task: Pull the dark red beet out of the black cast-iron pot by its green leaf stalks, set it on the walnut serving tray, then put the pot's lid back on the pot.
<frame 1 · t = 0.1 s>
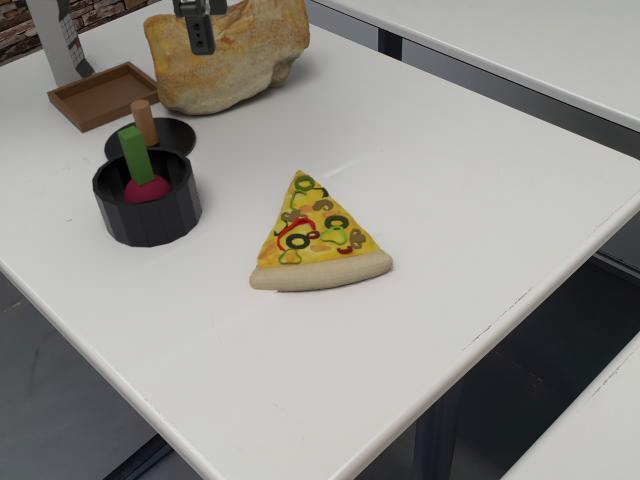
hand: (211, 32, 68), 22 cm above the table, tool pointing down, fingers open, 8 cm apart
tray: (109, 103, 102), on the table
pot: (155, 219, 83), on the table
beet: (154, 216, 83), resting on pot
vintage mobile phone: (78, 84, 107), on the table
bread loaf: (229, 86, 104), on the table, touching tray
lid: (150, 144, 93), point 1 cm above the table
pizza slice: (312, 230, 80), on the table
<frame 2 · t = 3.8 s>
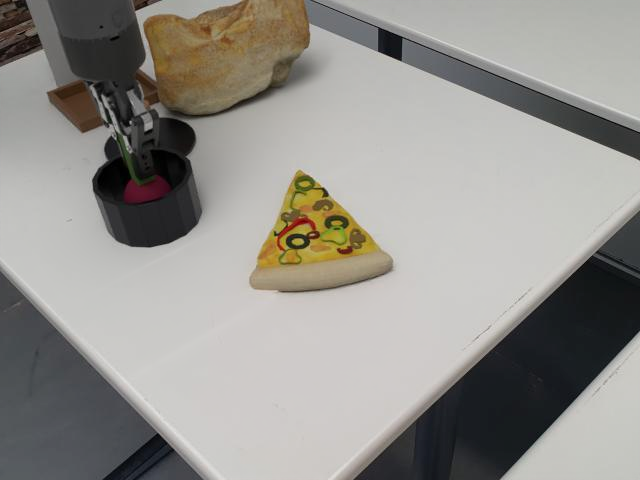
hand: (141, 170, 78), 7 cm above the table, tool pointing down, fingers closed on beet
beet: (154, 216, 83), resting on pot, touching gripper
everything else where it was.
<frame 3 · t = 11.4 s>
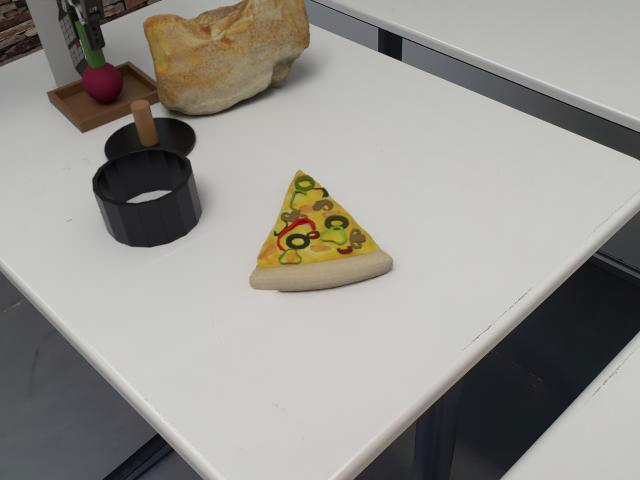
hand: (90, 42, 95), 9 cm above the table, tool pointing down, fingers open, 4 cm apart
beet: (108, 99, 102), point 1 cm above the table, touching tray
everything else where it was.
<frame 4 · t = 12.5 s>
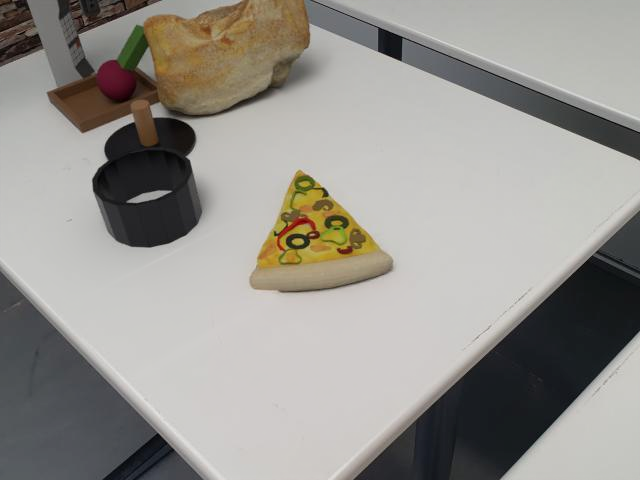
hand: (78, 4, 92), 14 cm above the table, tool pointing down, fingers open, 8 cm apart
beet: (108, 95, 101), point 1 cm above the table, tilted 41°, touching bread loaf, tray
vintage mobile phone: (78, 84, 107), on the table, touching gripper
bread loaf: (230, 86, 104), on the table, touching beet, tray
everything else where it was.
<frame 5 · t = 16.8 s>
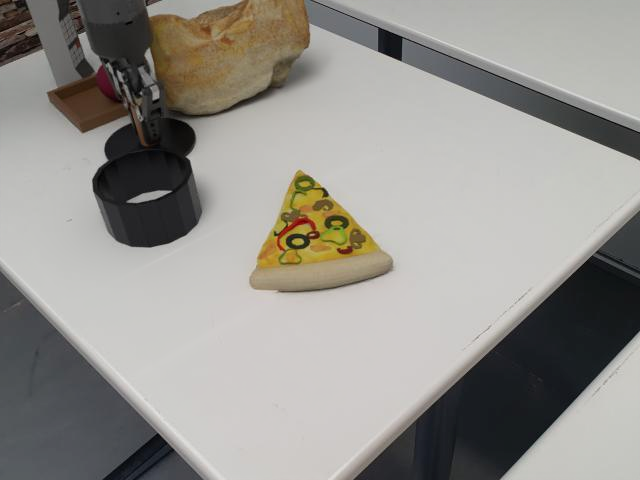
hand: (148, 137, 92), 2 cm above the table, tool pointing down, fingers closed on lid, 2 cm apart
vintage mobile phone: (78, 84, 107), on the table
lid: (150, 144, 93), point 1 cm above the table, touching gripper
everything else where it was.
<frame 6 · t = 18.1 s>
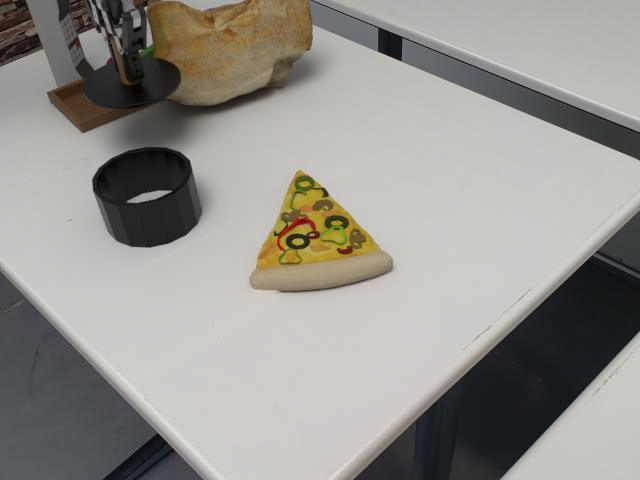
hand: (130, 74, 86), 11 cm above the table, tool pointing down, fingers closed on lid, 2 cm apart
beet: (108, 84, 101), point 3 cm above the table, tilted 75°, touching tray
bread loaf: (228, 83, 103), on the table, touching tray
lid: (132, 83, 87), point 9 cm above the table, touching gripper
everything else where it was.
when the fingers open (8 cm above the table, at t = 23.2 s): lid stays where it is, resting on pot.
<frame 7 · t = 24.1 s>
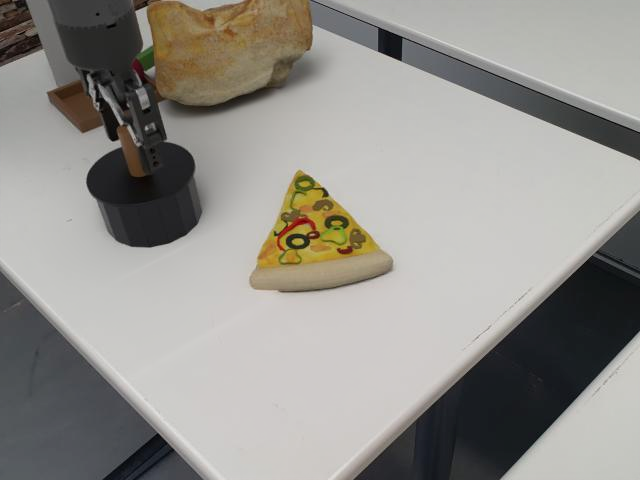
hand: (135, 154, 76), 9 cm above the table, tool pointing down, fingers open, 8 cm apart
lid: (141, 174, 78), point 6 cm above the table, touching pot
everything else where it was.
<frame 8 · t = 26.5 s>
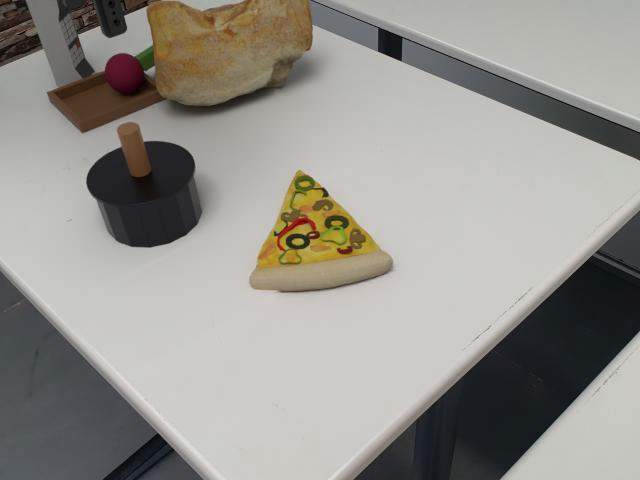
hand: (95, 19, 65), 24 cm above the table, tool pointing down, fingers open, 8 cm apart
nothing on the table moved.
at the end: beet inside the target area on the tray (0.9 cm from its centre), point 2.7 cm above the tray's base; lid 0.0 cm off-centre on the pot, point 6.5 cm above the pot's base; lid tilted 0° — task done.
